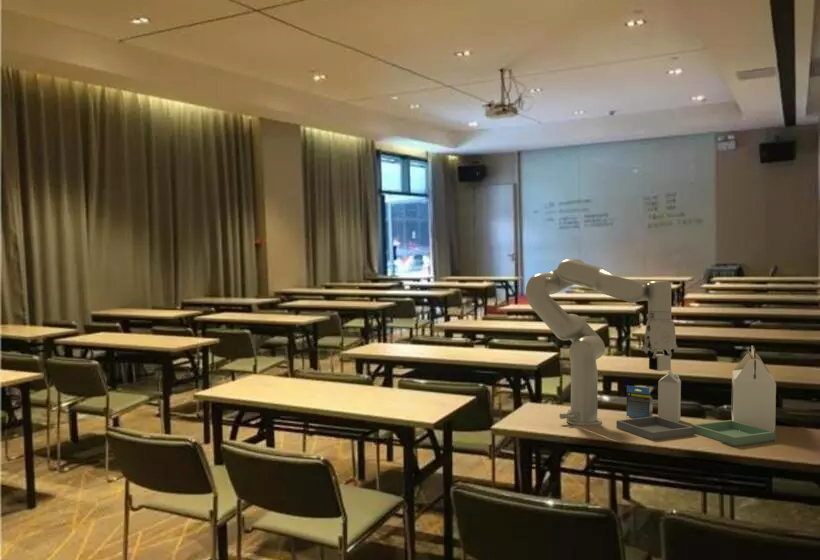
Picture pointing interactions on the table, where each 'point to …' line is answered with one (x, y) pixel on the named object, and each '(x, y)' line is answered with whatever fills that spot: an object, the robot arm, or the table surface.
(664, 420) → the charcoal bin
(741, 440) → the sage green bin
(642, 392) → the label tape cartridge
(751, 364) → the gable box
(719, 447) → the table surface
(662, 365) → the beige cube
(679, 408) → the milk carton
